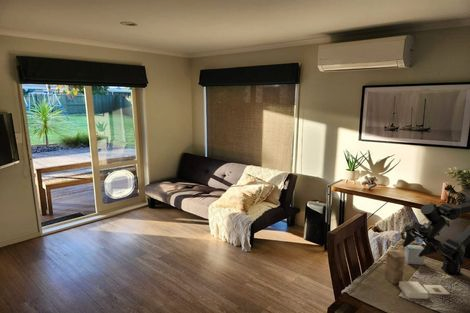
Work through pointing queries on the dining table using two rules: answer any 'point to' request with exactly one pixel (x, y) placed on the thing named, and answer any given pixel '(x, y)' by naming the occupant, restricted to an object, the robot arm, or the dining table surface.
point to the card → (435, 289)
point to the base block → (413, 289)
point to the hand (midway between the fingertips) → (411, 251)
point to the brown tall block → (394, 267)
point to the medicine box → (413, 254)
